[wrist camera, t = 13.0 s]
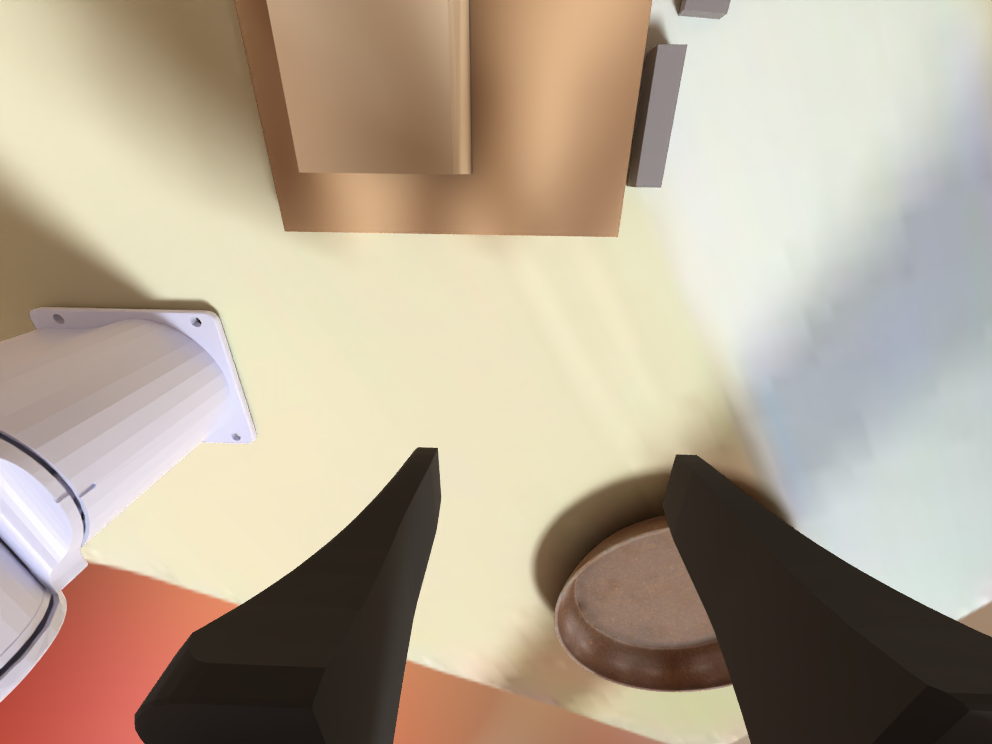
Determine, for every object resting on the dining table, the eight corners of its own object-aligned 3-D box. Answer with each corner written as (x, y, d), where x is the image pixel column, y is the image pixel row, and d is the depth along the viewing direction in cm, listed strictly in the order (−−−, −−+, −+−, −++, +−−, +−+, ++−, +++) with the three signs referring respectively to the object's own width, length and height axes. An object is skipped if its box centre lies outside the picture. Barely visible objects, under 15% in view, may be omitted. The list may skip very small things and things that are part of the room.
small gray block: (635, 187, 16) (660, 187, 16) (658, 44, 14) (687, 44, 14) (626, 185, 17) (649, 186, 17) (645, 55, 15) (671, 56, 15)
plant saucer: (525, 632, 32) (526, 675, 29) (593, 465, 24) (604, 502, 21) (729, 665, 33) (749, 709, 30) (858, 515, 25) (901, 556, 23)
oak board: (301, 226, 18) (284, 231, 17) (201, -274, 12) (162, -331, 10) (609, 232, 18) (618, 236, 16) (678, -279, 11) (701, -339, 10)
